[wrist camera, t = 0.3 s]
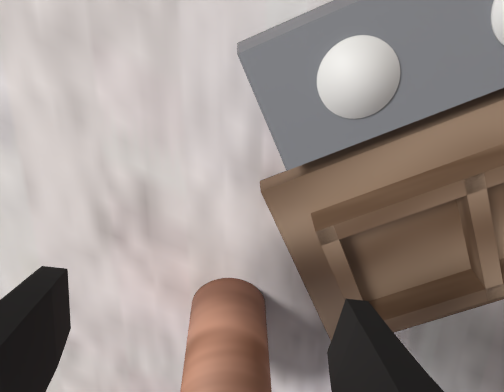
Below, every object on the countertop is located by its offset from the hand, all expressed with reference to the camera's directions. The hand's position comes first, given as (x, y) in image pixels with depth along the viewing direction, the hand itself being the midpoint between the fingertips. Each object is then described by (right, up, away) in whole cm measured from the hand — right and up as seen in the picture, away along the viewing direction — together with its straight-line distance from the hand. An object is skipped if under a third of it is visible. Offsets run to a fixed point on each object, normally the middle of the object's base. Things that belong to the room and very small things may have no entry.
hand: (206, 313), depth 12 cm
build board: (+14, +3, +9) cm, 17 cm away
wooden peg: (0, -3, +13) cm, 13 cm away
